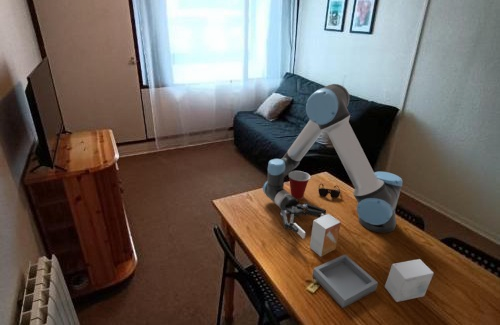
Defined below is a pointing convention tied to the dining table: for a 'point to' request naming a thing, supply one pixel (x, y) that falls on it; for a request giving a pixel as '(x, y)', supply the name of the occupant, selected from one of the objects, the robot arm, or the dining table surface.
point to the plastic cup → (298, 183)
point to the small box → (324, 234)
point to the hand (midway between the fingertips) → (318, 230)
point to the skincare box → (408, 280)
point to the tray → (344, 280)
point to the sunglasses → (332, 192)
